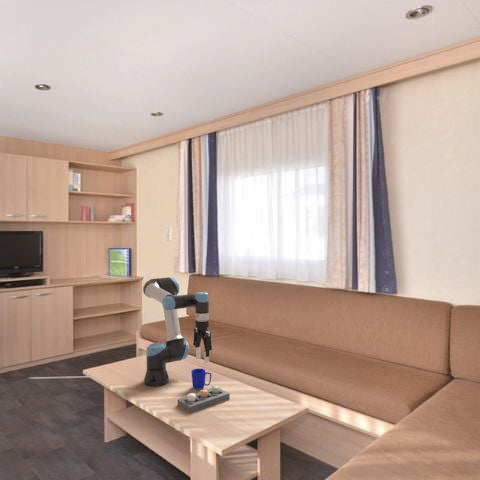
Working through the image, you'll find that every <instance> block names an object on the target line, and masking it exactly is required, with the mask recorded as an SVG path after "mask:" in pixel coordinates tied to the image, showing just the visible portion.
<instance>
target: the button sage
mask: <svg viewBox="0 0 480 480" xmlns="http://www.w3.org/2000/svg"><path fill="white" fill-rule="evenodd" d="M211 389H212V393H213V394H219V393H220V389H221V388H220V385H212V387H211Z"/></svg>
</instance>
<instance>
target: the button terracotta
mask: <svg viewBox="0 0 480 480" xmlns="http://www.w3.org/2000/svg"><path fill="white" fill-rule="evenodd" d="M208 390H209V389H206V388H205V389H204V388H202V389H199V392H200V397H201V398H207V397H208Z"/></svg>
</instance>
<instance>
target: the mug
mask: <svg viewBox="0 0 480 480" xmlns="http://www.w3.org/2000/svg"><path fill="white" fill-rule="evenodd" d="M190 373H191V382H192V384H191V385H192V387H193V389H196V390H202V389H204V388H205V386H210V384H211V381H212V372H209V371H206V369H205V368H194V369H191V372H190ZM206 375H209V381H208V383H206Z"/></svg>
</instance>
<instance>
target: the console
mask: <svg viewBox="0 0 480 480" xmlns="http://www.w3.org/2000/svg"><path fill="white" fill-rule="evenodd" d="M207 390H208V397H207V398H201V397H200V391H199V392H197V393H195V394H196V401H195V402H188V401H187V396H184V397H180V398H177V406H179V407H180V409H181V408H182V409H183V410H184V411H186V412H187V413H194V412H196V411H199V410H202V409H205V408H207V407H211V406H213V405H216V404H218V403H221V402H224V401H227V400H228V401H229V400H231V399H230V393H229V392H228V391H226V390H223V389H222V388H220V393H219V394H213V393H212V388H209V389H207Z"/></svg>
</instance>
